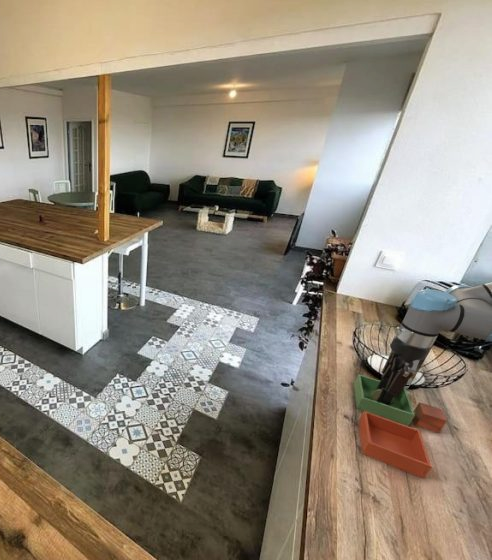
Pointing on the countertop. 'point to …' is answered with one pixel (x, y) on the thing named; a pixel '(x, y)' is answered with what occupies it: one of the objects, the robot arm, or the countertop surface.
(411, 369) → the coffee box
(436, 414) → the block
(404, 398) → the green bin
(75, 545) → the countertop surface
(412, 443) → the terracotta bin
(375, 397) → the lime
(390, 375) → the robot arm
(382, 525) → the countertop surface
